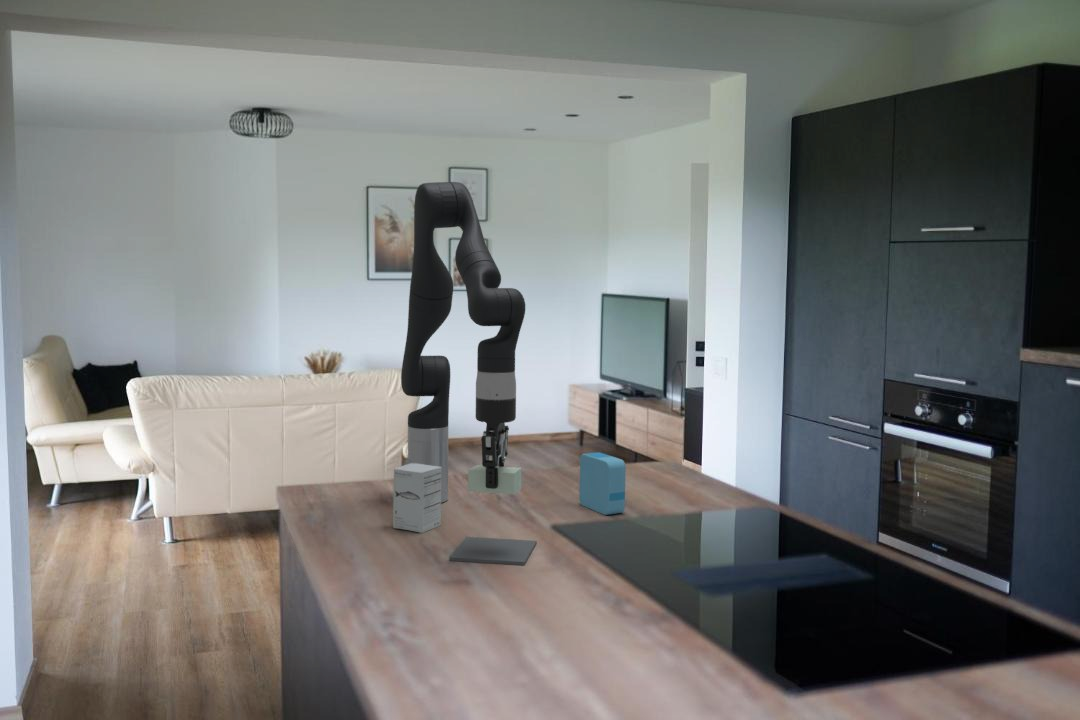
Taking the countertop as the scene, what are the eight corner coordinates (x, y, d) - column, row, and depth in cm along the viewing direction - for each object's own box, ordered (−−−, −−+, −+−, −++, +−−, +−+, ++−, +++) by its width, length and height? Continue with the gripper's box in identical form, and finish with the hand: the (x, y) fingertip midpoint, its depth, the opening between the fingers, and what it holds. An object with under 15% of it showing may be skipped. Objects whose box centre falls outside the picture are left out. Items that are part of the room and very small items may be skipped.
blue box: (625, 514, 217) (626, 460, 215) (607, 516, 214) (609, 462, 213) (595, 502, 227) (596, 451, 226) (578, 504, 225) (579, 452, 224)
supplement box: (391, 528, 202) (392, 468, 201) (412, 520, 208) (413, 461, 207) (421, 533, 198) (422, 472, 197) (442, 525, 205) (442, 465, 204)
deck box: (514, 494, 182) (514, 473, 182) (467, 491, 184) (468, 470, 184) (521, 488, 187) (521, 467, 187) (476, 485, 189) (476, 464, 189)
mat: (449, 560, 181) (449, 557, 181) (466, 539, 195) (466, 536, 195) (524, 565, 179) (524, 562, 179) (536, 543, 193) (536, 540, 193)
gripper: (508, 401, 176) (507, 494, 178) (522, 391, 190) (521, 477, 192) (467, 399, 177) (466, 492, 179) (484, 389, 192) (483, 475, 193)
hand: (494, 484), depth 186 cm, fingers closed on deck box, 5 cm apart
